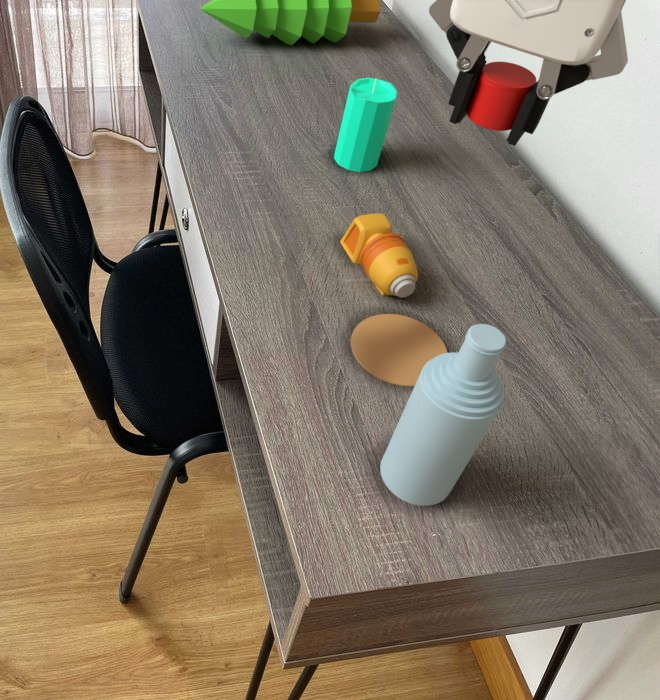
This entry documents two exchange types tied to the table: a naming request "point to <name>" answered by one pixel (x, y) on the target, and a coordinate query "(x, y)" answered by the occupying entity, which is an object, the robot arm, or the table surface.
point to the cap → (499, 95)
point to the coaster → (395, 347)
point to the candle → (365, 124)
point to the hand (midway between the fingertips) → (488, 124)
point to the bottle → (445, 419)
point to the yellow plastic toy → (381, 255)
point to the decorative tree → (293, 17)
